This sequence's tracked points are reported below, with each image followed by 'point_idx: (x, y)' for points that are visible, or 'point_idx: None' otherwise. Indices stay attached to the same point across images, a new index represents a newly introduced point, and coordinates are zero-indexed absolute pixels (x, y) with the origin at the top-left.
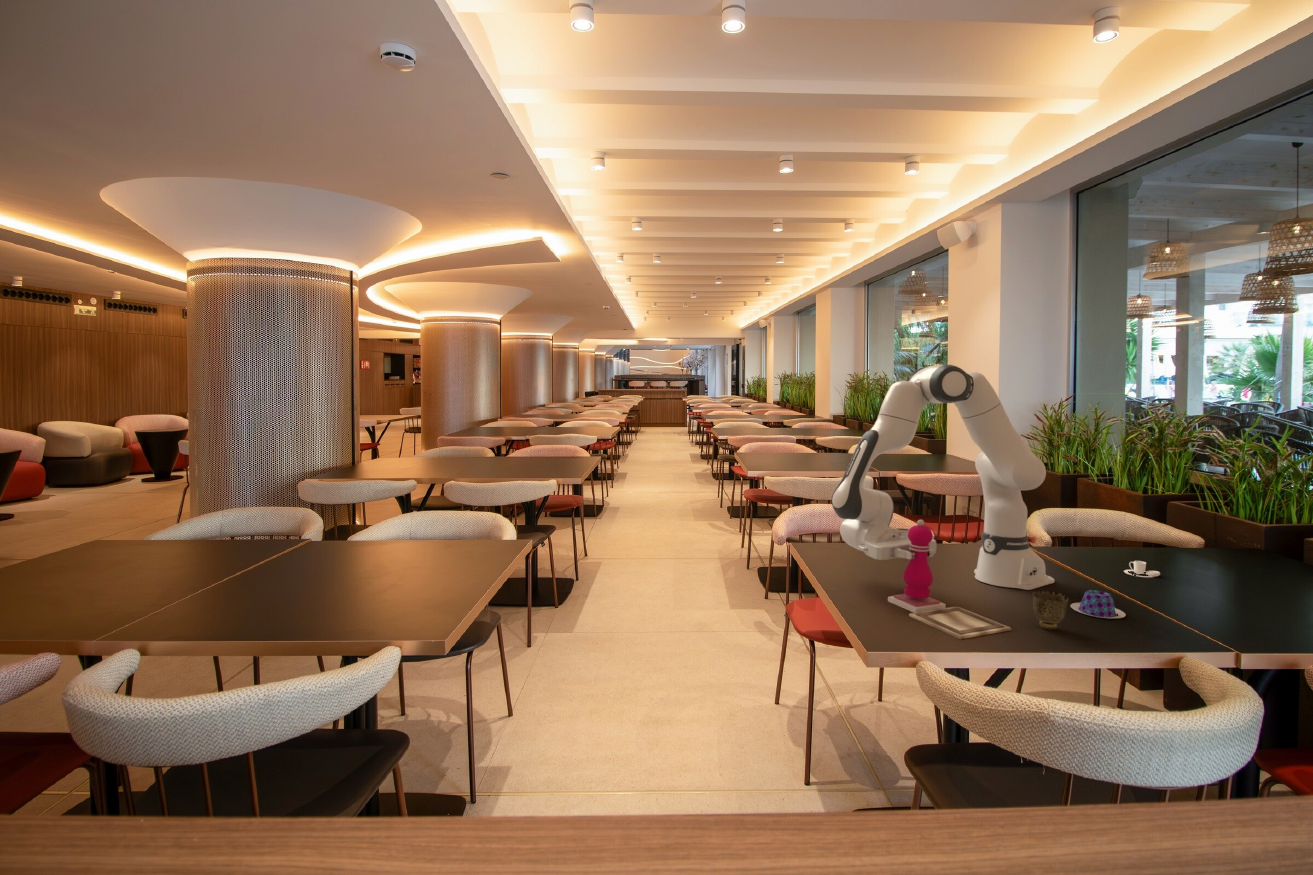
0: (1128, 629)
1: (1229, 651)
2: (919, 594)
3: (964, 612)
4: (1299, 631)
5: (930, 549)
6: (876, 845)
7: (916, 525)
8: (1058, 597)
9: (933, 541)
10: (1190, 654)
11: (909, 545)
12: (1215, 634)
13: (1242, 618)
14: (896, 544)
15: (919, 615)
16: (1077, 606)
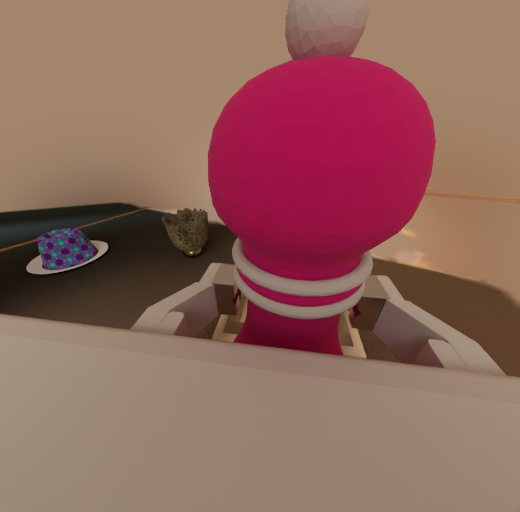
0: (135, 233)
1: (148, 209)
2: None
3: (242, 308)
4: (58, 207)
5: (214, 269)
6: (509, 199)
7: (350, 57)
8: (167, 219)
9: (2, 314)
10: (176, 212)
11: (298, 353)
12: (104, 216)
13: (30, 219)
14: (506, 397)
15: (349, 334)
16: (53, 271)
